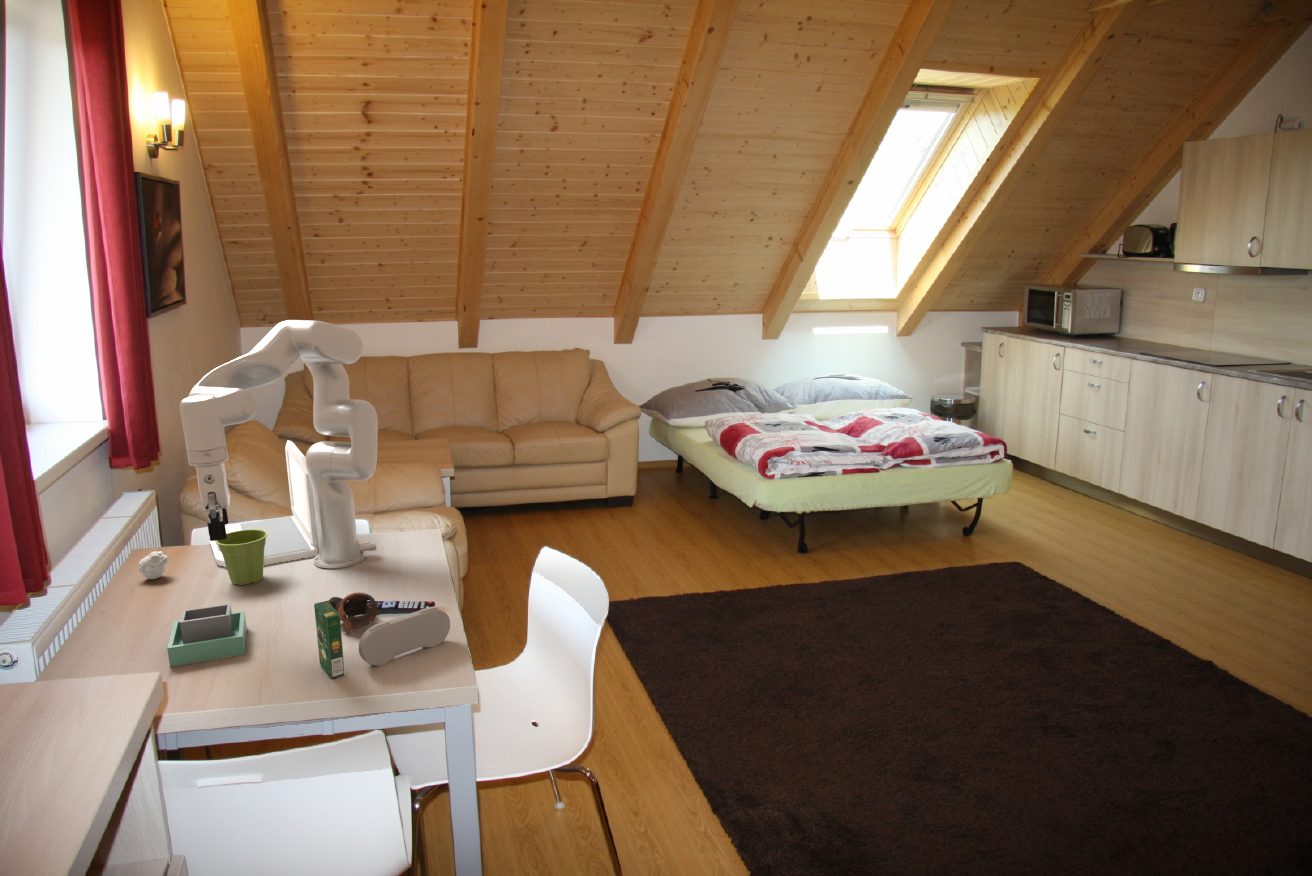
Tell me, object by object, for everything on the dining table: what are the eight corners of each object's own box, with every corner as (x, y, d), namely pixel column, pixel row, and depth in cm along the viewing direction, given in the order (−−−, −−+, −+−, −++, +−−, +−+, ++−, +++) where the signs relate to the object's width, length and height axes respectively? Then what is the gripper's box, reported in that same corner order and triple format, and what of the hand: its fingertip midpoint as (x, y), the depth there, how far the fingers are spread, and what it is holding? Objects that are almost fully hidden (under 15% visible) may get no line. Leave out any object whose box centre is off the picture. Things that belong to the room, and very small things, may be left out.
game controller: (446, 637, 194) (443, 600, 192) (452, 640, 192) (449, 603, 190) (359, 668, 181) (355, 628, 179) (364, 671, 179) (361, 632, 177)
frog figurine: (163, 583, 224) (159, 556, 222) (134, 583, 224) (130, 556, 223) (176, 573, 230) (172, 547, 228) (148, 574, 230) (144, 547, 229)
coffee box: (346, 676, 177) (340, 613, 174) (331, 680, 175) (325, 617, 172) (334, 660, 183) (327, 599, 180) (319, 664, 182) (312, 603, 179)
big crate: (246, 627, 199) (244, 610, 198) (244, 654, 186) (242, 636, 185) (176, 638, 194) (174, 621, 193) (169, 666, 181) (167, 648, 181)
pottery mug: (388, 616, 205) (386, 594, 200) (368, 650, 198) (366, 628, 193) (337, 601, 206) (334, 578, 200) (316, 634, 199) (312, 612, 193)
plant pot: (274, 568, 233) (269, 526, 230) (270, 585, 222) (266, 541, 219) (223, 574, 229) (218, 531, 227) (217, 592, 218) (211, 547, 216)
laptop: (207, 537, 258) (195, 445, 252) (297, 522, 270) (288, 435, 264) (219, 575, 230) (206, 473, 224) (319, 557, 242) (310, 460, 236)
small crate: (234, 631, 194) (230, 603, 193) (232, 644, 189) (229, 615, 187) (187, 639, 191) (183, 610, 190) (184, 652, 185) (179, 622, 184)
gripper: (226, 463, 184) (237, 543, 189) (228, 442, 200) (239, 516, 204) (184, 468, 181) (197, 548, 186) (190, 446, 197) (202, 521, 201)
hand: (219, 532), depth 195 cm, fingers open, 9 cm apart
